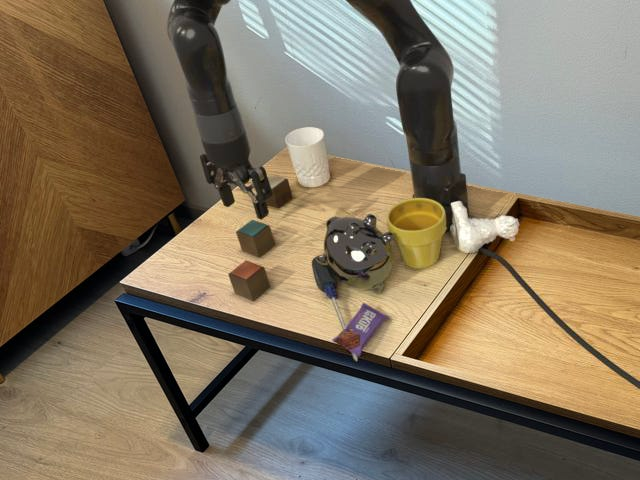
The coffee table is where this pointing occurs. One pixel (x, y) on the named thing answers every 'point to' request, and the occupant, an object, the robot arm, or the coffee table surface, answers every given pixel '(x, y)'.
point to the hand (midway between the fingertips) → (246, 210)
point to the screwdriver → (328, 287)
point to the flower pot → (418, 230)
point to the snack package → (360, 329)
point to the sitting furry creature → (479, 229)
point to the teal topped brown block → (255, 238)
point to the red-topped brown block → (249, 280)
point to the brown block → (279, 191)
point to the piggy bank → (358, 252)
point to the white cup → (309, 156)
